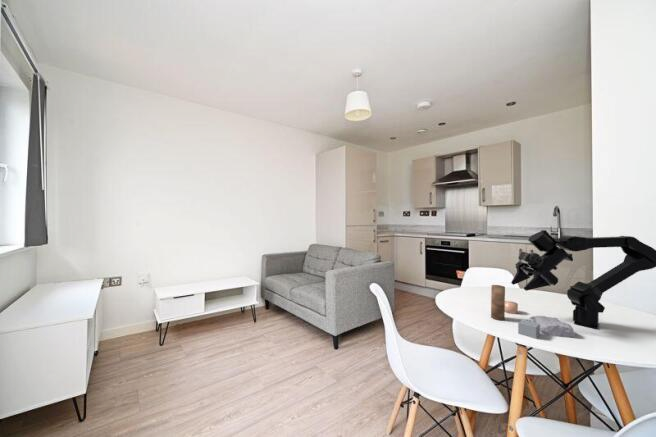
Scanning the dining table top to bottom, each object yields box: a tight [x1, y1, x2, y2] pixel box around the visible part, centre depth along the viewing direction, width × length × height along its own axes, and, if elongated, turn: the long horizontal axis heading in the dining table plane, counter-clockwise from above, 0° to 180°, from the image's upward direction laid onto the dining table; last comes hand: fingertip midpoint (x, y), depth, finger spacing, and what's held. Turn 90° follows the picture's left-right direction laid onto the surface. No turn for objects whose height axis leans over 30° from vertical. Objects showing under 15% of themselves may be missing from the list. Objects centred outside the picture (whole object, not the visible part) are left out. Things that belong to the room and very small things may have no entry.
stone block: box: [529, 315, 575, 338], centre depth 96 cm, size 12×5×10 cm
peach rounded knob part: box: [505, 300, 519, 315], centre depth 114 cm, size 5×5×4 cm
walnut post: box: [490, 284, 506, 322], centre depth 107 cm, size 5×5×13 cm
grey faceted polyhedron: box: [517, 319, 541, 339], centre depth 92 cm, size 5×5×4 cm
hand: (518, 286), depth 105 cm, fingers open, 9 cm apart
